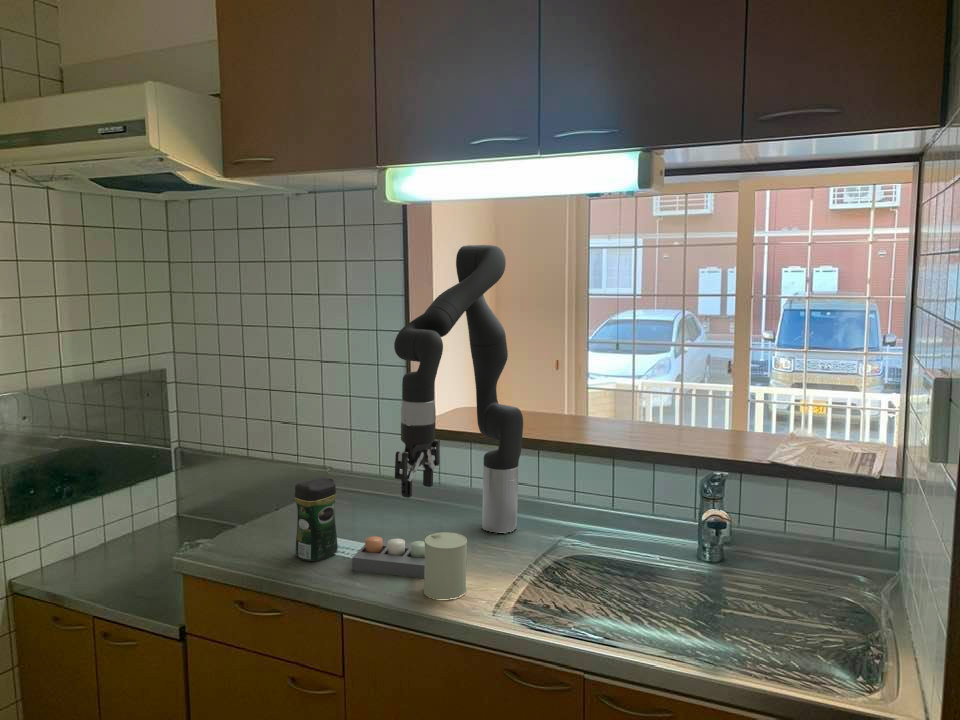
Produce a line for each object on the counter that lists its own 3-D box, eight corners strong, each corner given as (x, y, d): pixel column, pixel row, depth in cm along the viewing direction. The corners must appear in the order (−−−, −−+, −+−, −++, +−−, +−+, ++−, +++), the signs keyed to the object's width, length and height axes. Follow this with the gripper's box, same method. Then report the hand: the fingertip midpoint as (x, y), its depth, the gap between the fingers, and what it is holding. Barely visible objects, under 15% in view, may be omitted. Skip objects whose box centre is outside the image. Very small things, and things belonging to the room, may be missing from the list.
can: (443, 578, 165) (444, 526, 163) (475, 590, 159) (476, 537, 158) (414, 591, 158) (415, 538, 156) (446, 605, 152) (447, 549, 151)
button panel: (370, 550, 180) (370, 538, 179) (438, 557, 176) (438, 545, 176) (352, 570, 168) (352, 557, 168) (424, 578, 165) (424, 565, 164)
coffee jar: (320, 544, 183) (320, 471, 180) (342, 552, 178) (342, 478, 175) (289, 556, 175) (288, 480, 172) (311, 565, 170) (310, 487, 168)
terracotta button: (368, 547, 175) (368, 535, 175) (384, 549, 175) (384, 537, 174) (362, 554, 172) (362, 541, 171) (379, 555, 171) (379, 543, 170)
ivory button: (390, 550, 174) (391, 537, 174) (407, 551, 173) (407, 539, 173) (385, 556, 170) (385, 544, 170) (401, 558, 170) (401, 545, 169)
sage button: (413, 552, 173) (413, 540, 173) (429, 554, 172) (429, 541, 172) (408, 559, 169) (408, 546, 169) (424, 560, 168) (425, 548, 168)
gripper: (421, 412, 170) (420, 480, 172) (384, 424, 157) (384, 497, 159) (449, 416, 166) (448, 485, 168) (414, 428, 154) (413, 503, 156)
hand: (417, 491), depth 164 cm, fingers open, 8 cm apart
